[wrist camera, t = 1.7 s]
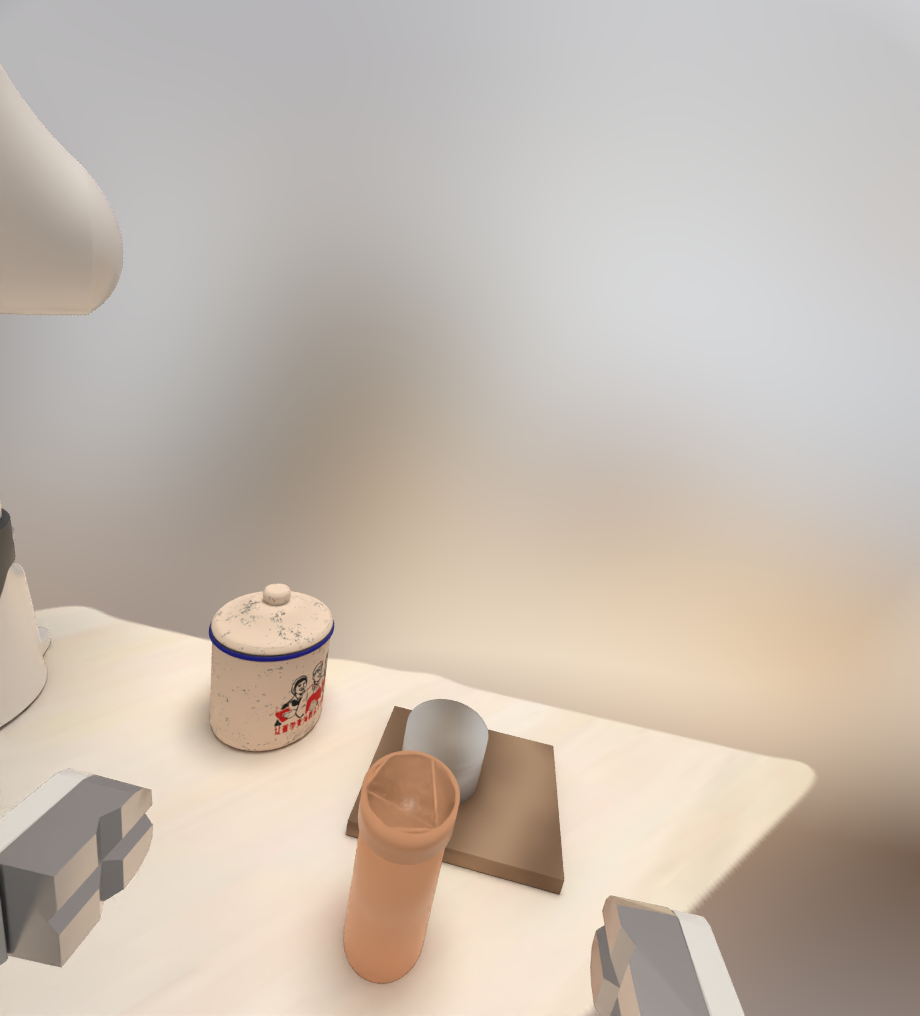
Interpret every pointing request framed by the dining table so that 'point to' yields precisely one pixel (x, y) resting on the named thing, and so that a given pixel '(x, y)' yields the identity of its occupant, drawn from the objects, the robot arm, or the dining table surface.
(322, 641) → the teacup with lid
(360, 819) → the peach lidded canister
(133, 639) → the dining table surface
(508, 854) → the stud board
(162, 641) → the dining table surface
